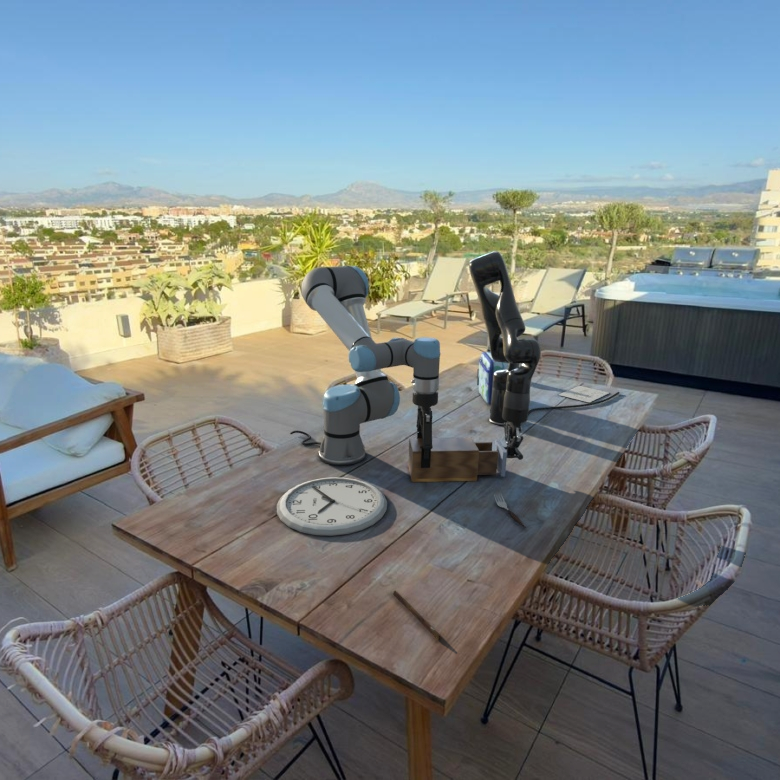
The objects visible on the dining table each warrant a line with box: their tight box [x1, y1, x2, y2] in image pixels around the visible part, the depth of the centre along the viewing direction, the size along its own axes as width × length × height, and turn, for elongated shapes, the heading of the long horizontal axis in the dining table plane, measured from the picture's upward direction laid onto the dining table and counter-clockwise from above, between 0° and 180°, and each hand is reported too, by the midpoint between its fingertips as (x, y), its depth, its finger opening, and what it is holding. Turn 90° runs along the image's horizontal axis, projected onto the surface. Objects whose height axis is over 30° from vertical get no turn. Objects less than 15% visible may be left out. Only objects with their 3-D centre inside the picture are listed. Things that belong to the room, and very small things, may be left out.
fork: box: [493, 492, 526, 529], centre depth 140 cm, size 3×16×2 cm, turn 15°
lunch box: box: [476, 351, 509, 406], centre depth 230 cm, size 26×11×21 cm, turn 179°
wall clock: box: [276, 476, 388, 537], centre depth 142 cm, size 30×2×30 cm
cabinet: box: [408, 436, 479, 483], centre depth 161 cm, size 20×10×10 cm, turn 94°
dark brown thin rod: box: [392, 590, 441, 641], centre depth 102 cm, size 15×1×1 cm, turn 34°
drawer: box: [474, 439, 524, 477], centre depth 162 cm, size 24×9×8 cm, turn 94°
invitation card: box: [558, 385, 610, 404], centre depth 243 cm, size 21×1×15 cm
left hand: (423, 459), depth 160 cm, fingers closed on cabinet, 10 cm apart
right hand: (510, 457), depth 162 cm, fingers closed
